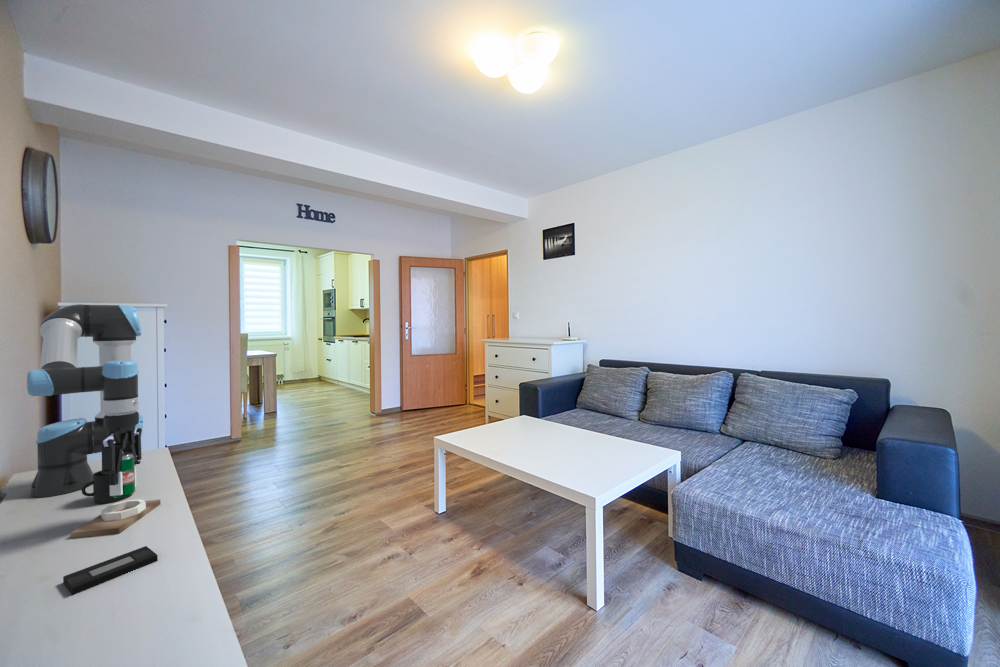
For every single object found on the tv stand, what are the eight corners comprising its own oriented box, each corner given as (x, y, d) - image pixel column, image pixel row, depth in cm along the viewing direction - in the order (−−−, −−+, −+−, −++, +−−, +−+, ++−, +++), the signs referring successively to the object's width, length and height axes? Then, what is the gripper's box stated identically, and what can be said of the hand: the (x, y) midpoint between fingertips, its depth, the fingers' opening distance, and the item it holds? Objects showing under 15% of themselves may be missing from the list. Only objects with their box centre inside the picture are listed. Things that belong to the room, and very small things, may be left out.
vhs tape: (63, 585, 87) (62, 576, 87) (146, 553, 100) (146, 545, 99) (72, 597, 83) (71, 588, 83) (157, 563, 96) (157, 555, 95)
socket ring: (117, 507, 120) (116, 501, 120) (151, 504, 122) (151, 498, 122) (93, 522, 111) (93, 515, 111) (131, 518, 113) (131, 511, 113)
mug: (81, 501, 128) (80, 473, 128) (131, 489, 137) (130, 463, 137) (82, 510, 122) (82, 481, 122) (135, 497, 131) (134, 470, 131)
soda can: (114, 500, 113) (113, 458, 113) (109, 496, 116) (108, 455, 115) (137, 493, 117) (136, 453, 117) (131, 490, 120) (130, 451, 120)
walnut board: (119, 507, 123) (119, 503, 123) (160, 504, 126) (160, 499, 126) (71, 538, 106) (71, 532, 106) (119, 533, 108) (119, 528, 108)
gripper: (113, 419, 108) (116, 502, 109) (155, 406, 126) (157, 478, 126) (81, 420, 106) (83, 505, 107) (128, 407, 124) (129, 480, 125)
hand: (123, 490), depth 117 cm, fingers closed on soda can, 5 cm apart
